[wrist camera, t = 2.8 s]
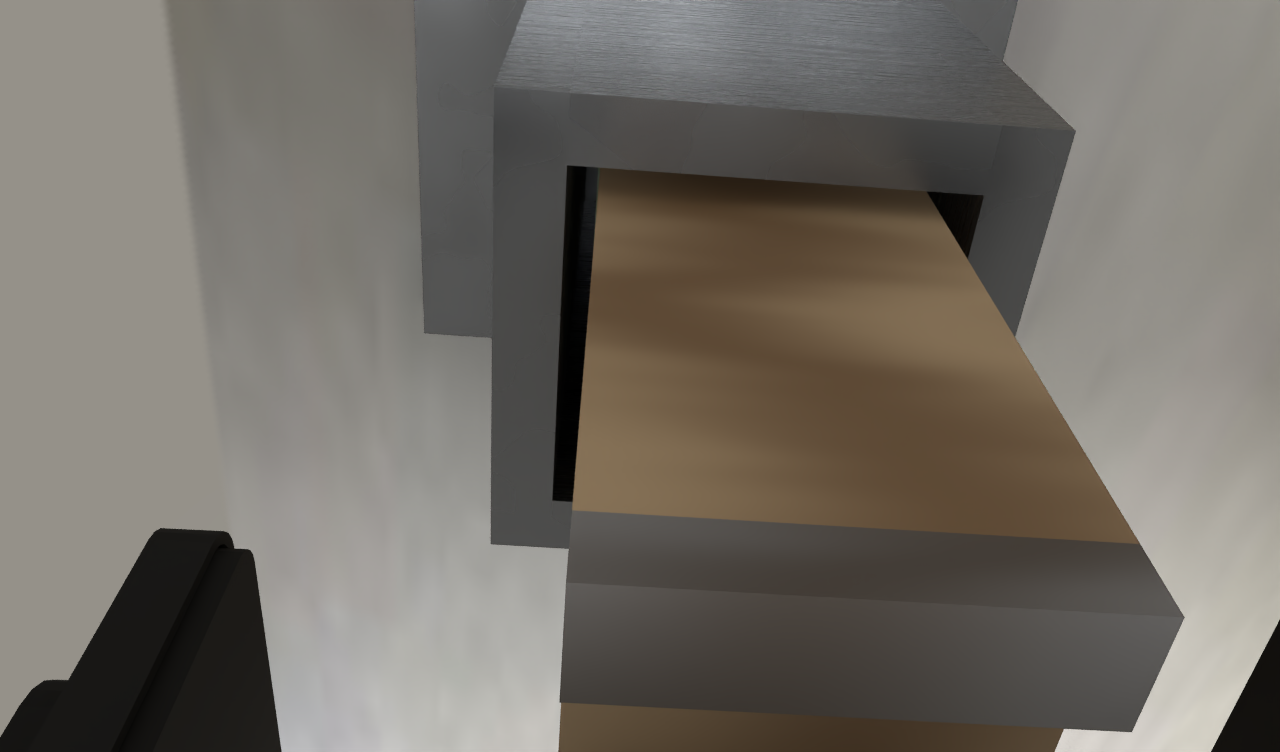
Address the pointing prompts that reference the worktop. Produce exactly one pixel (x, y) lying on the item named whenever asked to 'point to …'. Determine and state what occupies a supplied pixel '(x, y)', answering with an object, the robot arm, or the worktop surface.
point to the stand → (691, 164)
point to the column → (830, 493)
